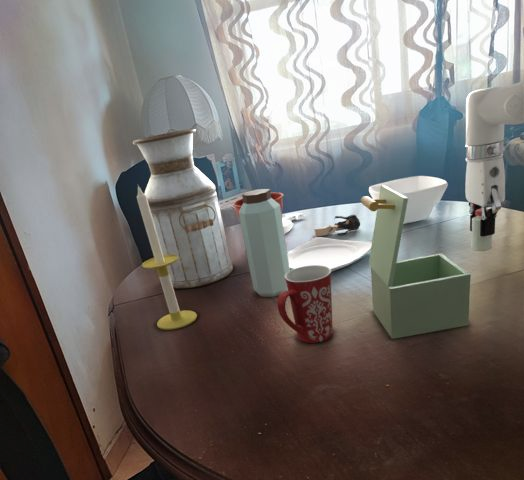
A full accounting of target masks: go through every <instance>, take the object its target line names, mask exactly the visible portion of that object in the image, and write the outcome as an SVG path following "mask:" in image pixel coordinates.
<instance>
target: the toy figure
mask: <svg viewBox="0 0 524 480" xmlns="http://www.w3.org/2000/svg"><path fill="white" fill-rule="evenodd" d="M335 219H343V220H342V221H338V222H336V223H334V224H333V225H331V224H329V225H326V226H325V227H317V228H313V234H314V237H323V236H324V237H325V236H328V235H330V234H333V235H334V234H335V233H336V232H337V235H338V236H340V235H346V234H347V233H348V232H353V231H354V232H356V231H358V230H359V229H360V227H361V221H360V219H359V218H358V216H357V215H356V214H349V215H347V216H343V215H335V217H334V221H335ZM344 230H345V232H340V231H344Z"/></svg>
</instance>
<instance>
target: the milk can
mask: <svg viewBox="0 0 524 480" xmlns="http://www.w3.org/2000/svg"><path fill="white" fill-rule="evenodd" d="M196 131H197V129H196V128H189V129H188V128H187V129H181V130H176V131H170V132H165V133H160V134H156V135H151V136H146V137H142V138H139V139H135V140H133V141H132V144H133V145H136V146H137V147H138V149H139V150H140V152H141V154H142V156H143V158H144V160H145V161H146V163H147V164H148V168H149V172H150V177H149V180H148V183H147V185H146V187H145V190H144V192H143V193H144V194H145V195H146V197H147V200H148V204H149V207H150V211H151V214H152V218H153V221H154V225H155V228H156V232H157V235H158V239H159V242H160V246H161V249H162V253H163V255H177V256H178V260H177V261H176V262H174V263H173V264H171V265H168V266H167V268H168V271H169V275H170V278H171V282H172V285H173V289H191V288H192V289H193V288H196V287H197V288H198V287H202V286H206V285H209V284H212V283H216V282H218V281H220V280H222V279H224V278H225V277H227V276H229V275H230V274H231V273H232V272H233V270H234V265H233V261H232V258H231V254H230V249H229V245H228V240H227V236H226V235H227V234H226V231H225V226H224V222H223V221H224V220H223V217H222V212H221V207H220V203H219V199H218V194H217V191H216V185H215V183H213V182H212V181H211V180H210V179H209V178H208V177H207V176H206V175H205V174H204V173H203V172H202V171H201V170H200V169H199V168H198V167H196V166H195V162H194V157H193V144H194V143H193V142H194V133H197V132H196Z"/></svg>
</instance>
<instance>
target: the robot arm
mask: <svg viewBox="0 0 524 480" xmlns="http://www.w3.org/2000/svg"><path fill="white" fill-rule="evenodd" d="M465 103H466V104H465V162H466V168H465V169H466V170H465V186H464V188H465V189H464V190H465V191H464V192H465V193H464V194H465V199H466V201H467V203H468V207H469V211H468V213H469V231H470V232H472V218H473V217H476V215H475V213H476V210H477V209H482V219H480V236H482V237H484V236H488V235H492V236H493V235H495V232H496V218H497V216H498V215H497V214H498V212H499V211H500V210H501V209H502V204H503V203H504V202H505V200H506V199H505V198H506V173H505V172H506V171H505V170H506V169H505V162H504V143H505V142H504V140H505V125H520V124H524V80H522V81H519V82H516V83H512V84H510V85H507V86H504V87H503V86H491V87H486V88H480V89H477V90H474V91H471V92H470V93H469V94H468V95H467V97H466V101H465ZM489 202H490V203H489ZM488 203H489V204H488ZM486 208H488V211H487V212H486Z"/></svg>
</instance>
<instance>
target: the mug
mask: <svg viewBox="0 0 524 480" xmlns="http://www.w3.org/2000/svg"><path fill="white" fill-rule="evenodd" d="M331 275H332V272H331V269H330V268H328V267H326V266H321V265H309V266H303V267H298V268H295V269H293V270H290V271H289V272H287V273H286V274H285V275H284V279H285V280H286V283H287V288H288V290H287V291H284V292H282V293H281V294H280V295H278V297H277V311H278V314H279V317H280V318H281V319H282V320H283V322H284V323H285V324H286V325H287V326H288V327H289V328H291V329H292V330H294V331H295V332H296V335H297V339H298V340H300V341H301V342H303V343H309V344H314V343H315V344H316V343H322V342H325V341H327V340H328V339H330V338H332V336H333V334H334V326H333V324H334V323H333V302H332V301H333V300H332V277H331ZM288 298H289V302H290V307H291V310H292V311H291V313H292V316H293V320H294V322H293V321H292V320H291V318H290V317H289V316H288V313H287V309H286V302H287V299H288Z"/></svg>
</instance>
